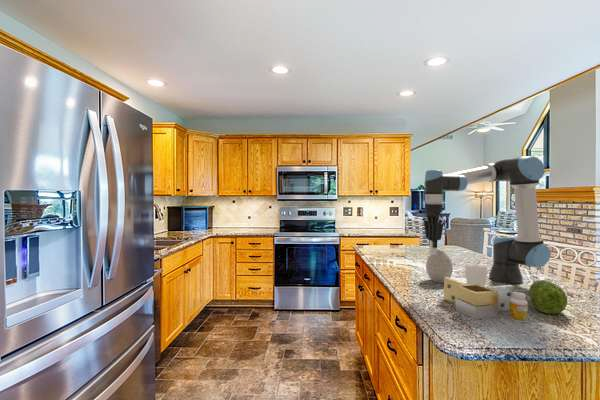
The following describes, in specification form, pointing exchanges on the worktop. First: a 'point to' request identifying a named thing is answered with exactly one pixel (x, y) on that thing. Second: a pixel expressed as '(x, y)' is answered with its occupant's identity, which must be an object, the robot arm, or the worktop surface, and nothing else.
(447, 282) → the beige square frame
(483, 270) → the cup
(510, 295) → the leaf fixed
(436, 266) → the vase
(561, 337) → the worktop surface
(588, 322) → the worktop surface
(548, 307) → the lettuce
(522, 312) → the supplement bottle
